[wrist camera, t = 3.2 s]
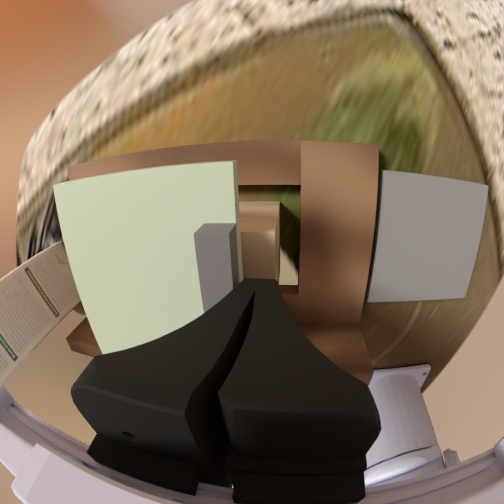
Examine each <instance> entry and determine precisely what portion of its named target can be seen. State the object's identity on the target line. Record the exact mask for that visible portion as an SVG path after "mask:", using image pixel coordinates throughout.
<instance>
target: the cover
mask: <svg viewBox="0 0 504 504" xmlns="http://www.w3.org/2000/svg"><path fill="white" fill-rule="evenodd" d="M53 187H54V194H55V200H56V206H57V212H58V217H59V222H60V227H61V231H62V236H63V240H64V244H65V248H66V252H67V256H68V260H69V264H70V267H71V271H72V274H73V277H74V280H75V284H76V287H77V290H78V293H79V296H80V299H81V302H82V304H83V307H84V310H85V313H86V315H87V318H88V321H89V323H90V326H91V328H92V331H93V333H94V335H95V338H96V340H97V342H98V345H99V347H100V349H101V351H102V354H107V353H112V352H116V351H120V350H125V349H128V348H132V347H135V346H138V345H141V344H144V343H147V342H149V341H152V340H155V339H157V338H160V337H162V336H164V335H166V334H168V333H170V332H172V331H175V330H177V329H179V328H181V327H183V326H184V325H186V324H188V323H189V322H191V321H193V320H194V319H196V318H198V317H199V316H201V315H202V314H204V313H205V312H206V311H208V310H209V309H210V308H211V307H213V306H214V305H215V304H217V303H218V302H219V301H220V300H221V299H223V298H224V297H225V296H226V295H227V294H228V293H229V292H230V291H232V290H233V289H234V288H235V287H236V286H237V285H238V284H239V283H240V282H241V281H242V280H243V268H242V250H241V231H240V212H239V192H238V171H237V161H217V162H202V163H190V164H179V165H169V166H159V167H151V168H143V169H136V170H128V171H122V172H115V173H109V174H103V175H97V176H92V177H86V178H81V179H76V180H71V181H67V182H62V183H59V184H56V185H53Z"/></svg>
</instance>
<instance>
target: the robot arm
mask: <svg viewBox="0 0 504 504" xmlns="http://www.w3.org/2000/svg"><path fill="white" fill-rule="evenodd" d="M430 369H431V367H430V365H429V364H425V365H418V366H410V367H402V368H393V369H382V370H373V371H374V373H373V376H372V379H371V382H370V384H369V386H368V385H367V384H366V383H364V382H363V381H361V380H359V379H358V378H356V377H354V376H353V375H351V374H350V373H348V372H346V371H345V370H343V369H342V368H340V367H339V366H338V365H336V364H335V363H334V362H332V361H331V360H330V359H329V358H327V357H326V356H325V355H324V354H323V353H322V352H321V351H320V350H319V349H318V348H317V347H316V346H315V345H314V344H313V343H312V342H311V341H310V340H309V339H308V338H307V336H306V335H305V334H304V333H303V331H302V330H301V329H300V328H299V326H298V325H297V323H296V322H295V320H294V319H293V317H292V316H291V314H290V312H289V310H288V309H287V307H286V305H285V303H284V301H283V298H282V296H281V293H280V290H279V287H278V281H277V280H276V279H260V278H245V279H243V280H242V281H241V282H240V283H239V284H238V285H237V286H236V287H235V288H234V289H233V290H232V291H230V292H229V293H228V294H227V295H226V296H225V297H224V298H223V299H221V300H220V301H219V302H218V303H217V304H215V305H214V306H213V307H211V308H210V309H209V310H208V311H206V312H205V313H204V314H202V315H201V316H199V317H198V318H196V319H194V320H193V321H191V322H189V323H188V324H186V325H184V326H183V327H181V328H179V329H177V330H175V331H172V332H170V333H168V334H166V335H164V336H162V337H160V338H157V339H155V340H152V341H149V342H147V343H144V344H141V345H138V346H135V347H132V348H128V349H125V350H120V351H116V352H112V353H107V354H103V355H97V356H95V357H94V358H93V359H92V361H91V362H90V363H89V365H88V366H87V367H86V368H85V370H84V371H83V372H82V374H81V375H80V376H79V378H78V379H77V380H76V382H75V383H74V384H73V386H72V387H71V395H72V399H73V402H74V403H75V405H76V407H77V408H78V410H79V411H80V413H81V414H82V415H83V416H84V418H85V419H86V420H87V422H88V423H89V424H90V425H91V427H92V428H93V429H94V430H95V431H96V433H97V434H96V436H95V438H94V440H93V441H92V443H91V445H90V446H89V445H87V444H85V443H83V442H81V441H79V440H77V439H75V438H73V437H72V436H70V435H68V434H66V433H64V432H63V431H61V430H59V429H57V428H56V427H54V426H52V425H50V424H49V423H47V422H46V421H44V420H42V419H41V418H39V417H38V416H36V415H35V414H33V413H32V412H30V411H29V410H27V409H26V408H24V407H23V406H22V405H20V404H19V403H17V402H16V401H15V400H14V398H13V397H12V395H11V394H10V393H9V391H8V390H7V389H6V388H5V387H4V386H3V384H1V383H0V461H1V462H2V463H3V464H4V465H5V467H6V468H7V469H8V470H9V471H10V472H11V473H12V474H13V475H14V476H15V477H16V478H15V480H14V481H13V483H12V485H11V487H12V490H13V492H14V494H15V495H16V496H17V497H18V498H19V499H20V500H21V501H22V502H23V503H24V504H504V437H503V438H502V439H501V440H500V441H499V442H498V443H497V444H496V445H495V447H494V448H492V449H490V450H488V451H486V452H484V453H482V454H480V455H477V456H475V457H473V458H470V459H468V460H466V461H463V462H460V461H459V458H458V455H457V452H456V451H451V450H450V449H447V450H446V451H444V452H443V454H444V458H445V464H444V460H443V456H442V453H441V450H440V447H439V445H438V443H437V439H436V436H435V433H434V429H433V426H432V423H431V420H430V417H429V414H428V411H427V408H426V405H425V402H424V400H423V396H422V394H421V391H420V388H421V387H422V385H423V383H424V381H425V379H426V377H427V375H428V373H429V371H430ZM445 466H446V468H445ZM111 479H112V480H111ZM232 484H233V487H234V488H232ZM141 491H142V492H141Z"/></svg>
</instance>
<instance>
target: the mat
mask: <svg viewBox="0 0 504 504" xmlns="http://www.w3.org/2000/svg"><path fill="white" fill-rule="evenodd" d="M487 194H488V185H485V184H480V183H475V182H470V181H464V180H459V179H453V178H447V177H440V176H433V175H426V174H418V173H410V172H401V171H391V170H380V179H379V196H378V210H377V221H376V231H375V239H374V248H373V255H372V262H371V269H370V275H369V281H368V287H367V293H366V300H367V302H399V301H422V300H440V299H455V298H465V295H466V292H467V289H468V285H469V282H470V279H471V275H472V272H473V268H474V264H475V260H476V256H477V252H478V248H479V243H480V238H481V233H482V228H483V222H484V216H485V210H486V202H487Z"/></svg>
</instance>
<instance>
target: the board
mask: <svg viewBox="0 0 504 504" xmlns="http://www.w3.org/2000/svg"><path fill="white" fill-rule="evenodd" d="M217 161H237V171H238V185H300V244H299V273H298V285H278V287H279V290H280V293H281V296H282V298H283V301H284V303H285V305H286V307H287V309H288V310H289V312H290V314H291V316H292V317H293V319H294V320H295V322H296V323H297V325H298V326H299V328H300V329H301V330H302V331H303V333H304V334H305V335H306V336H307V338H308V339H309V340H310V341H311V342H312V343H313V344H314V345H315V346H316V347H317V348H318V349H319V350H320V351H321V352H322V353H323V354H324V355H325V356H326V357H327V358H329V359H330V360H331V361H332V362H334V363H335V364H336V365H338V366H339V367H340V368H342V369H343V370H345V371H346V372H348V373H350V374H351V375H353V376H354V377H356V378H358V379H359V380H361V381H363V382H364V383H366V384H367V385H368V386H369V384H370V382H371V379H372V376H373V373H374V371H373V367H372V363H371V360H370V356H369V353H368V349H367V346H366V342H365V339H364V336H363V332H362V329H361V326H360V323H359V322H360V317H361V312H362V307H363V302H364V297H365V291H366V286H367V280H368V274H369V267H370V260H371V253H372V245H373V237H374V227H375V217H376V205H377V190H378V169H379V145H373V144H362V143H349V142H332V141H300V140H273V141H241V142H224V143H211V144H199V145H189V146H180V147H172V148H164V149H157V150H150V151H143V152H137V153H131V154H126V155H120V156H115V157H110V158H105V159H100V160H95V161H91V162H87V163H82V164H78V165H74V166H70V167H68V175H69V181H71V180H76V179H81V178H86V177H92V176H97V175H103V174H109V173H115V172H122V171H128V170H136V169H143V168H151V167H159V166H169V165H179V164H190V163H202V162H217ZM66 340H67V342H68V344H69V346H70V348H71V350H73V351H75V352H78V353H82V354H85V355H88V356H91V357H95V356H97V355H103V354H102V351H101V349H100V347H99V345H98V342H97V340H96V338H95V335H94V333H93V331H92V328H91V326H90V323H89V321H88V318H87V317H86V318H85V319H84V320H83V321H82V322H81V323H80V324H79V325H78V326H77V327H76V328H75V329H74V330H73V332H72V333H71V334H70V335H69V336H68V337H67V338H66Z"/></svg>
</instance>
